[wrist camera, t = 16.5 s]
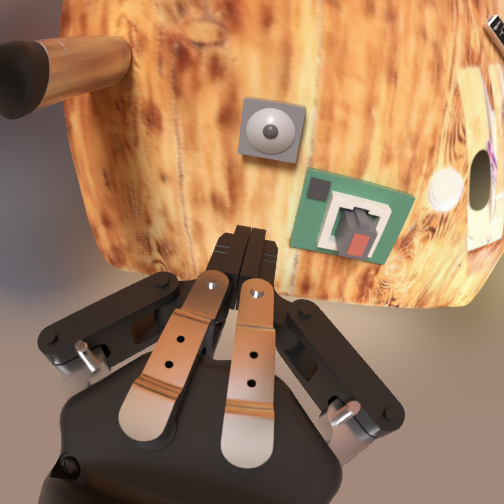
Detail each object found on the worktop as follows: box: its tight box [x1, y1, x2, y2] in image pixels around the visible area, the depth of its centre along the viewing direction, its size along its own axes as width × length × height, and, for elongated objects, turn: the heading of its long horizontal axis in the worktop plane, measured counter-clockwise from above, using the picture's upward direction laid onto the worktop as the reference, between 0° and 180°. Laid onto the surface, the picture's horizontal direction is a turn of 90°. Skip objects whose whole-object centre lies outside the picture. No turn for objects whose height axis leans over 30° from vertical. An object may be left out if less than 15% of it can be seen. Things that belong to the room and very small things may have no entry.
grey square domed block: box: [238, 97, 306, 163], centre depth 34 cm, size 8×8×3 cm
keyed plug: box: [335, 207, 378, 261], centre depth 38 cm, size 4×6×6 cm
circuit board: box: [289, 167, 415, 265], centre depth 41 cm, size 18×14×3 cm
